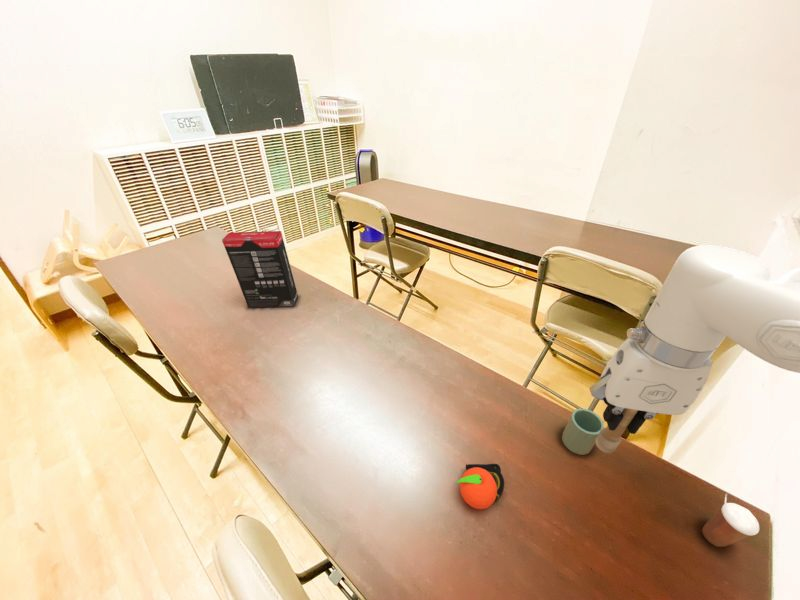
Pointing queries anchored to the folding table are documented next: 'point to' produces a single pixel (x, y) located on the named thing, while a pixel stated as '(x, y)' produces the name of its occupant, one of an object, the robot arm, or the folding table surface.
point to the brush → (614, 433)
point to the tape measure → (496, 474)
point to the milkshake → (730, 525)
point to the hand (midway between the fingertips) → (619, 423)
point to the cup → (582, 431)
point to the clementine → (478, 488)
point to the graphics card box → (262, 268)
